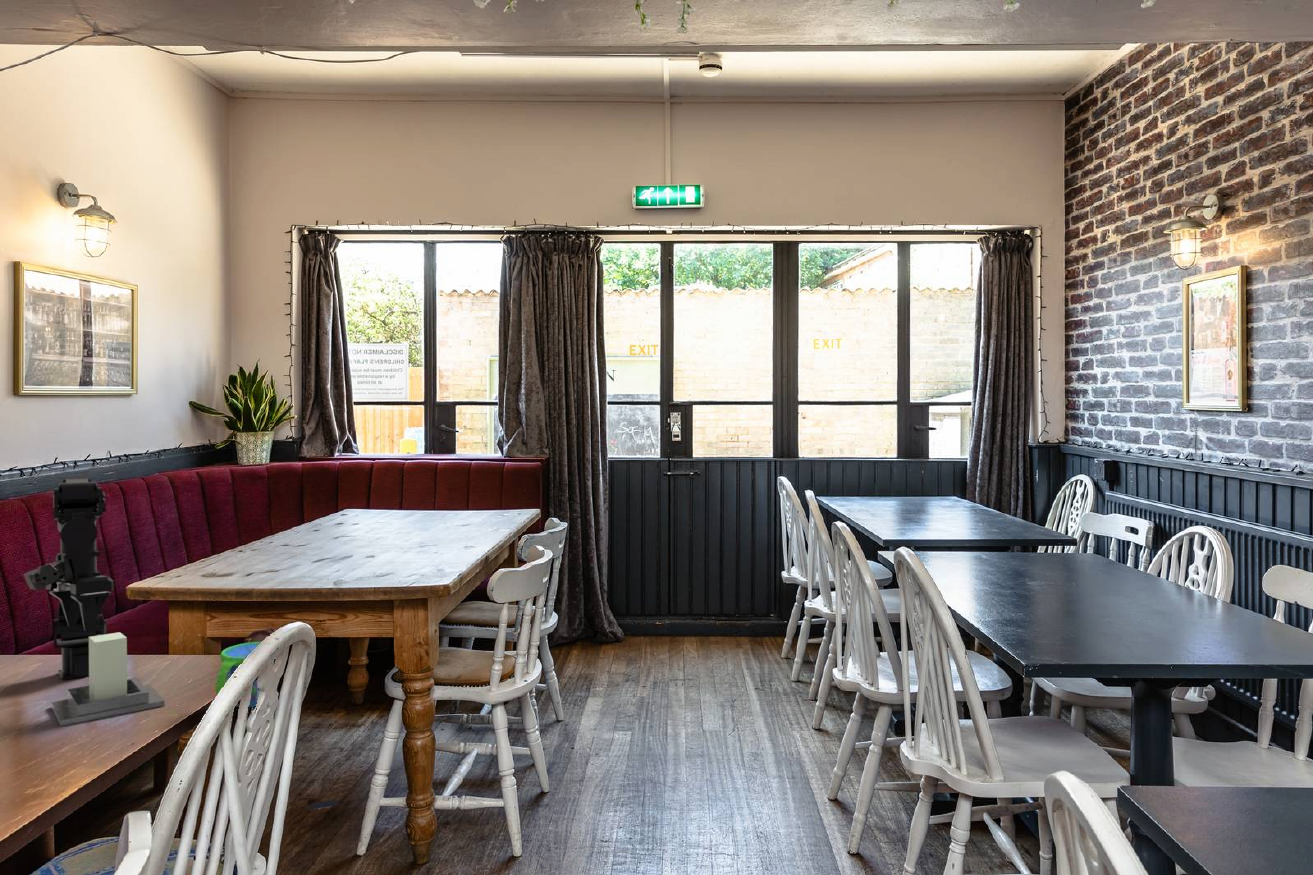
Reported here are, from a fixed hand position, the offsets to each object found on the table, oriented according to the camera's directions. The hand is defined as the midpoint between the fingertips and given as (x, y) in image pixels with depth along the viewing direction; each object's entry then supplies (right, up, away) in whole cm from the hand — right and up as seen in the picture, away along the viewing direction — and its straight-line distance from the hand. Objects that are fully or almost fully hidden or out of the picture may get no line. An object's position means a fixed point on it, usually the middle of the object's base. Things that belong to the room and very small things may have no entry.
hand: (79, 628), depth 164 cm
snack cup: (+35, -14, -3) cm, 37 cm away
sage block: (+10, -12, -6) cm, 17 cm away
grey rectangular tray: (+10, -13, -6) cm, 18 cm away
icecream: (+24, -13, +24) cm, 36 cm away
